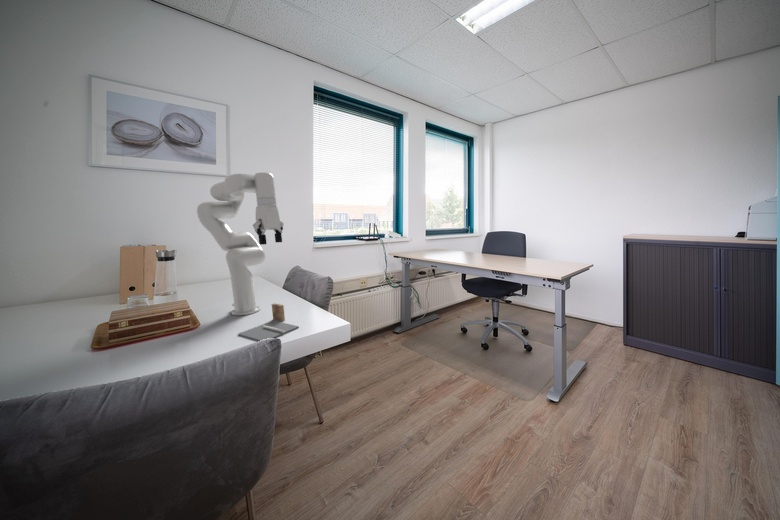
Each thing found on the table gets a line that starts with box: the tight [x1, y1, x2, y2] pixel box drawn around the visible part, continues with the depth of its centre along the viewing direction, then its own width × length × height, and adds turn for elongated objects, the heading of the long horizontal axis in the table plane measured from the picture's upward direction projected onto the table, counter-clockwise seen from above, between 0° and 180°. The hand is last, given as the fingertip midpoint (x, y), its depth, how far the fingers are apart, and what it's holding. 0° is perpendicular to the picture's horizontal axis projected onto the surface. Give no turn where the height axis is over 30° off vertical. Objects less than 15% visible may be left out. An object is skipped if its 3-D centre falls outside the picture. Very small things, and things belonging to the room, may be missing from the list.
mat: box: [237, 320, 300, 342], centre depth 117 cm, size 16×16×2 cm
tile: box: [271, 302, 286, 322], centre depth 130 cm, size 6×2×7 cm, turn 59°
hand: (271, 243), depth 127 cm, fingers open, 9 cm apart
